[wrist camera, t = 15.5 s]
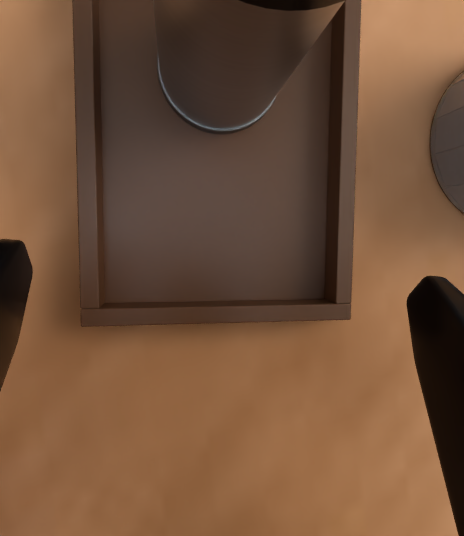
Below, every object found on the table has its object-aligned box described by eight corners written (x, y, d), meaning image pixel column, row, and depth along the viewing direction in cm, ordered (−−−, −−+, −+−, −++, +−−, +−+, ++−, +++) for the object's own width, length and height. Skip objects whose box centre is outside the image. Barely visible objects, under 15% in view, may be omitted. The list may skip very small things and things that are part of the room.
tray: (334, 311, 21) (351, 319, 19) (90, 317, 19) (80, 326, 17) (344, -15, 20) (363, -43, 18) (81, -43, 18) (70, -77, 16)
